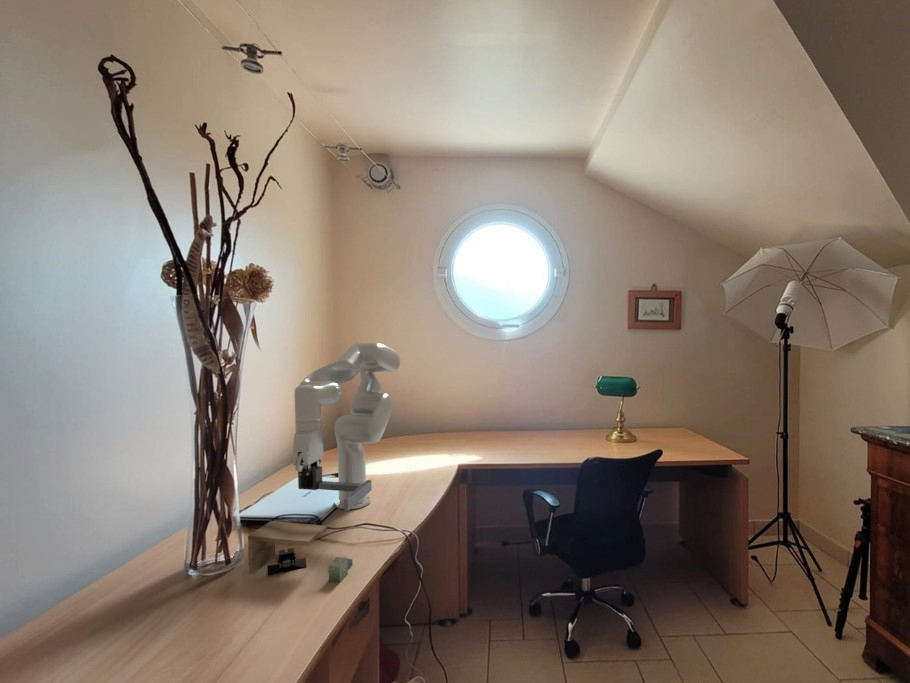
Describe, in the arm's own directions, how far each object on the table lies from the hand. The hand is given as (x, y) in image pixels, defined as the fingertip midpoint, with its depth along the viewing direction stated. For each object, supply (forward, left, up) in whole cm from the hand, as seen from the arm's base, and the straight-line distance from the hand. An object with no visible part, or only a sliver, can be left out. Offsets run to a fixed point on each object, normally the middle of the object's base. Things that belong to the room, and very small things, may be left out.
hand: (310, 484), depth 130 cm
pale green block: (+19, +20, -15) cm, 32 cm away
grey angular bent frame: (+6, +8, -1) cm, 10 cm away
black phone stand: (+19, +5, -15) cm, 25 cm away
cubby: (+20, +6, -15) cm, 25 cm away
